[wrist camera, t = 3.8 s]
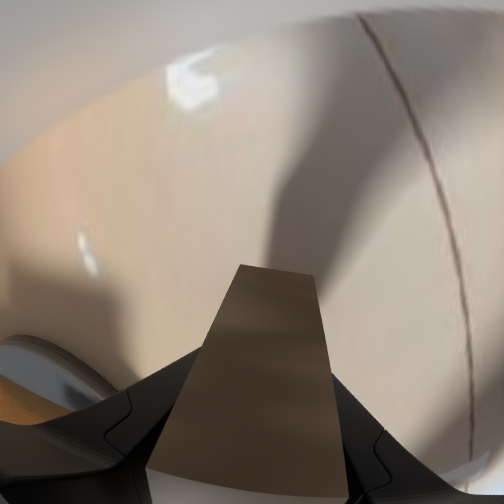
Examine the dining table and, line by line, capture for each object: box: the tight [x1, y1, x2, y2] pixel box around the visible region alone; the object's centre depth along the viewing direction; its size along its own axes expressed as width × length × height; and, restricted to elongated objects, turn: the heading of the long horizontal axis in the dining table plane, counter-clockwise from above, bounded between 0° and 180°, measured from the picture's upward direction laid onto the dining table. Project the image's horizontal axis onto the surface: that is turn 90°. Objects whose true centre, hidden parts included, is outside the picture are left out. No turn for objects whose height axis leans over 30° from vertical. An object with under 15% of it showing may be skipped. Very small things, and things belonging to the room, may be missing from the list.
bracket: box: [0, 335, 118, 425], centre depth 15 cm, size 14×17×6 cm
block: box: [145, 264, 349, 504], centre depth 7 cm, size 2×4×8 cm, turn 173°
